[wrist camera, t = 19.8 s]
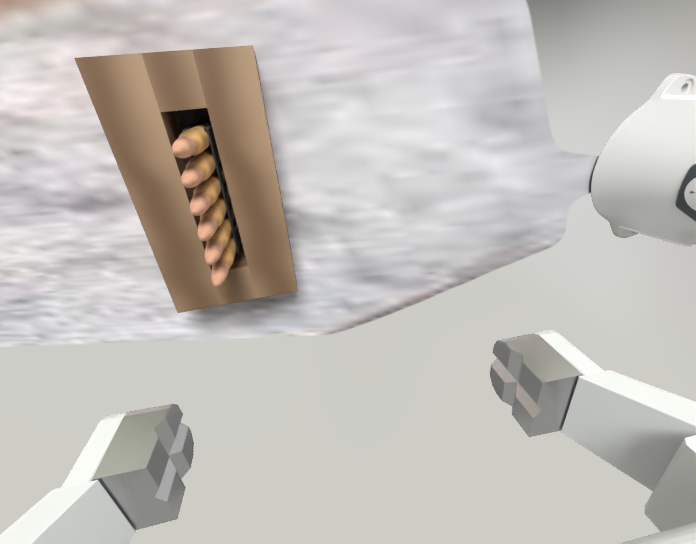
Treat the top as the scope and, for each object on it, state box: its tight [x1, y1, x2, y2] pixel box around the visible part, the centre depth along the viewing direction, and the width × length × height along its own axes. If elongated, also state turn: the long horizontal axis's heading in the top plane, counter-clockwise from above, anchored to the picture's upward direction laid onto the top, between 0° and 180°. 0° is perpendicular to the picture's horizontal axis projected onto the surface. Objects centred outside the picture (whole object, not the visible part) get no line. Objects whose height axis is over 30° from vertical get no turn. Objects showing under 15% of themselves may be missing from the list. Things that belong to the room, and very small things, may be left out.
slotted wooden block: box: [75, 45, 298, 313], centre depth 29 cm, size 11×20×5 cm, turn 5°
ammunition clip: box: [172, 121, 241, 287], centre depth 26 cm, size 11×2×12 cm, turn 4°
